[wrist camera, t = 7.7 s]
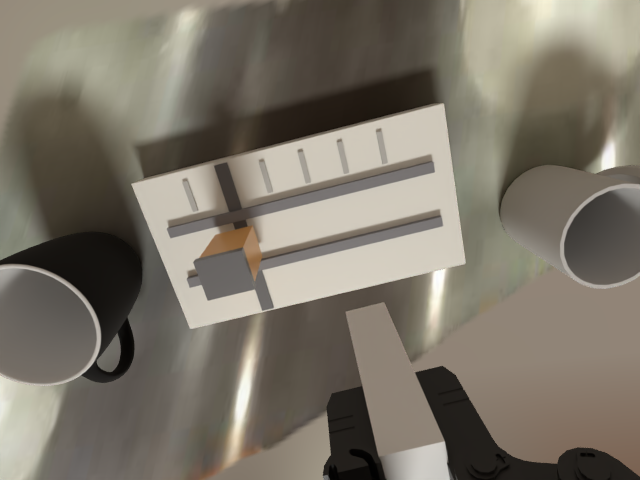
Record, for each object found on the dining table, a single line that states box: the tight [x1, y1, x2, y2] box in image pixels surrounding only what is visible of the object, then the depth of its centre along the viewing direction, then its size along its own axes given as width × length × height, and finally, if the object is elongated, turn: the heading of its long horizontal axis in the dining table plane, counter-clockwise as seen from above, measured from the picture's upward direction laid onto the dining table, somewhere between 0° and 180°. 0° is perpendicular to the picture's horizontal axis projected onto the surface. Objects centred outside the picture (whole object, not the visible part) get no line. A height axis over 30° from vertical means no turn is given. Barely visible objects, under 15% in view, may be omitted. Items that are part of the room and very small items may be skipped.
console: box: [131, 103, 466, 329], centre depth 32 cm, size 24×13×3 cm, turn 104°
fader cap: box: [193, 225, 262, 301], centre depth 28 cm, size 3×3×6 cm
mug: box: [0, 232, 142, 386], centre depth 30 cm, size 12×9×10 cm
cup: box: [500, 165, 640, 288], centre depth 30 cm, size 7×10×9 cm
